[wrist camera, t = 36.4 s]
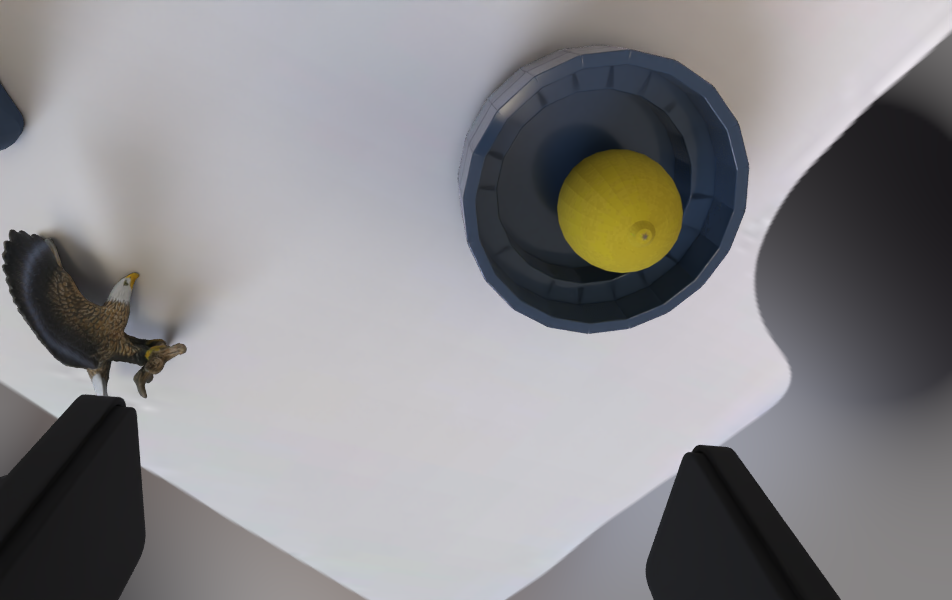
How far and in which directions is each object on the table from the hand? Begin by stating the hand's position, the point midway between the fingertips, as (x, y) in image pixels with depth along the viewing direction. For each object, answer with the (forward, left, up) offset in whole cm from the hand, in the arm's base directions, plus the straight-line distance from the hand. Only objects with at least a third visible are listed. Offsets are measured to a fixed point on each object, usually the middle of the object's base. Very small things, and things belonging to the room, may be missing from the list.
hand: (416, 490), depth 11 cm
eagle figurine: (+9, -16, -24) cm, 31 cm away
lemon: (0, +9, -24) cm, 26 cm away
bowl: (-1, +9, -24) cm, 26 cm away
